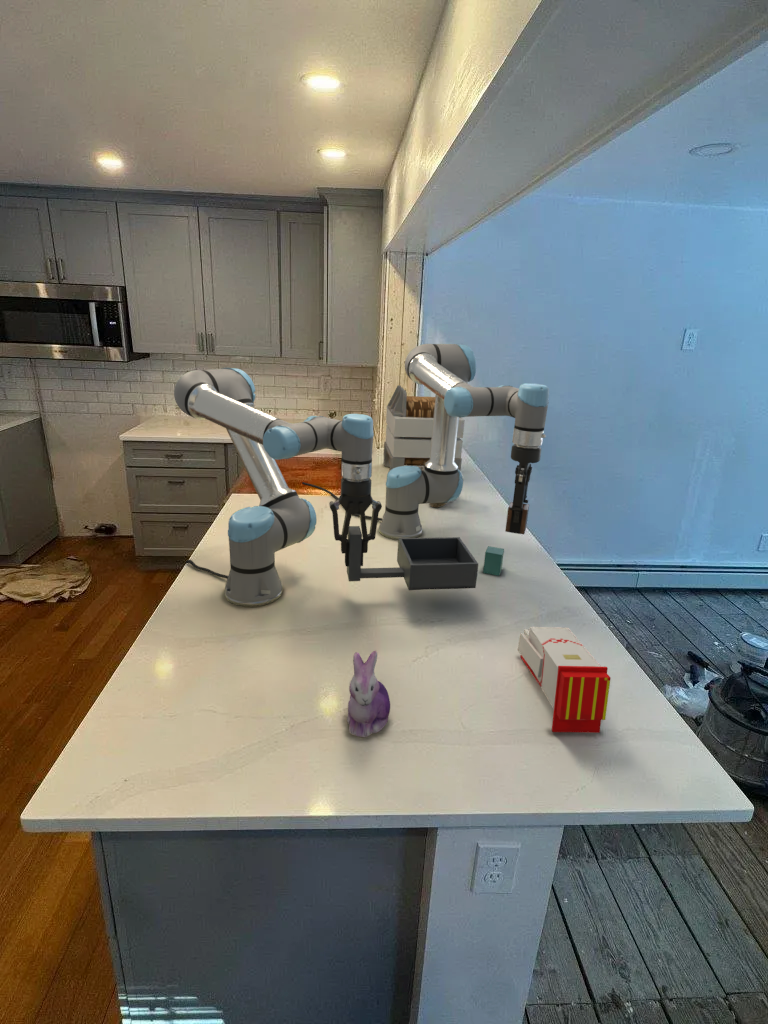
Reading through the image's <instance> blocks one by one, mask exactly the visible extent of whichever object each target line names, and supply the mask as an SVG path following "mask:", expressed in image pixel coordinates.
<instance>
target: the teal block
mask: <svg viewBox="0 0 768 1024" xmlns="http://www.w3.org/2000/svg"><path fill="white" fill-rule="evenodd" d="M504 555H505V548H501V547H498V546H497V547H495V546H491V545H488V546H487V548H486V549H485V552H484V560H483V568H482V569H483V570H482V573H483V574H487V575H492V576H498V577H500V575H501V573H502V570H503V563H504Z"/></svg>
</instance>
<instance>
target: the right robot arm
mask: <svg viewBox="0 0 768 1024" xmlns="http://www.w3.org/2000/svg"><path fill="white" fill-rule="evenodd" d="M404 371H405V373H406V376H407V377H408V378H409V379H410V380H411V381H412V382H414V383H415V384H417V385H423V386H424V387H425V388H427V390H429V391H430V392H432V393H433V394H434V395H435V396H434V397H435V407H434V418H433V428H432V439H431V450H430V459H429V460H428V461H427V462H426V463H425V466H424V468H423V470H422V469H421V467H420V466H407V465H404V466H400V467H396V468H393V469H392V470H390V469H389V470H388V472H387V475H386V480H385V481H386V482H385V504H384V505H385V507H384V508H385V509H384V513H383V515H382V517H378V521H379V525H378V533H379V534H380V535H381V536H382V537H385V538H387V539H389V540H395V541H398V538H421V536H422V535H423V525H422V524H421V518H420V515H419V507H420V506H419V505H423V504H429V503H440V502H442V503H445V502H447V503H449V502H454V501H456V500H457V499H458V498H459V497H460V496H461V493H462V491H463V488H464V487H463V485H464V479H463V473H462V470H461V471H460V470H458V466H457V464H456V463H455V462H454V459H455V450H456V441H457V432H458V423H459V417H461V418H472V417H510V418H513V419H514V427H513V432H512V439H511V440H512V441H511V443H512V445H511V451H510V459H511V460H512V461H514V462H517V463H518V464H517V465H516V467H515V470H514V474H515V477H514V491H513V497H512V502H513V505H512V507H510V510H512V516H511V524H510V531H509V532H508V533H512V534H518V535H521V534H520V529H521V521H522V514H523V504H529V499H527V498H528V487H529V483H530V480H531V474H532V472H533V466H532V464H537V463H539V462H540V461H541V456H542V448H541V446H542V445H543V442H544V441H543V440H544V439H545V438H547V435H546V434H545V433H544V432H545V427H546V421H547V414H548V407H549V403H550V402H549V401H550V399H549V398H550V388H549V386H547V385H545V384H539V383H529V382H528V383H521V384H520V385H519V387H515V386H513V385H504V384H502V385H498V386H473V385H471V384H470V382H472V381H474V379H475V377H476V375H477V359H476V355H475V353H474V351H473V349H472V348H471V347H470V346H469V345H467V344H466V345H465V344H458V343H423V344H419V345H417V346H415V347H413V348H412V349H411V350H410V351H409V353H408V354H407V355H406V358H405V360H404ZM301 483H302V485H304V486H308V487H311V488H315V489H318V490H320V491H323V492H325V493H327V494H329V495H330V496H332V497H333V498H334V499H335V501H337V500H339V497H338V496H337V495H335V494H334V493H333V492H331V491H330V490H328V489H326V488H324V487H322V486H318V485H315V484H312V483H308V482H304V481H302V482H301ZM352 516H355V517H358V518H360V515H359V514H352ZM371 518H372V515H365V519H366V520H371Z"/></svg>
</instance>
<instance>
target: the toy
mask: <svg viewBox="0 0 768 1024" xmlns="http://www.w3.org/2000/svg"><path fill="white" fill-rule="evenodd" d="M518 638H519V639H518V646H517V651H518V653H519V654H520V659H521V660H522V662H523V663H524V665H525V666H526V668H527V669H528V670H529V672H530V673H531V675H532V676H533V678H534V679H535V681H536V683H537V684H538V685H539V687H541V691H542V692H543V694H544V695H545V697H546V698H547V701H548V702H549V704H550V705H551V707H552V709H553V714H552V724H551V732H552V733H586V734H587V733H593V734H595V733H597V734H600V732H601V724H602V721H606V719H607V711H608V710H607V709H608V701H609V694H610V686H611V676H610V675H609V674H608V669H609V668H608V666H601V665H600V663H599V662H598V661H597V660H596V658H594V656H593V655H592V654H591V652H589V651H588V649H587V648H586V647H585V646H584V644H583V643H582V642H581V640H579V639H578V637H577V636H576V635H575V633H573V631H572V630H571V629H570V628H569V627H557V626H556V627H555V626H554V627H553V626H529V628H524V629H523V632H520V633H519V637H518Z"/></svg>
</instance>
